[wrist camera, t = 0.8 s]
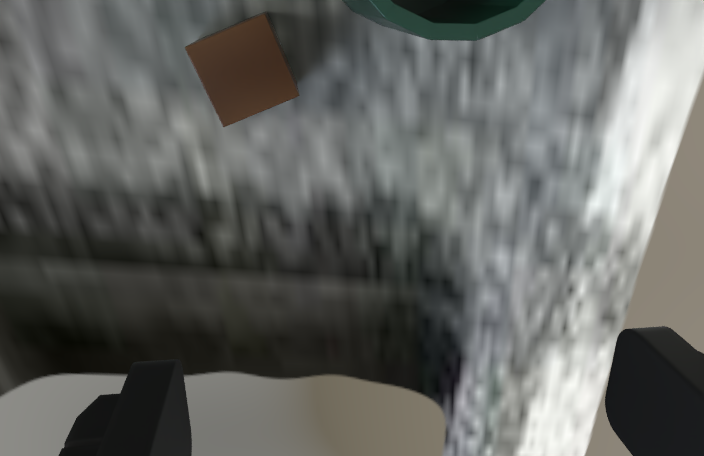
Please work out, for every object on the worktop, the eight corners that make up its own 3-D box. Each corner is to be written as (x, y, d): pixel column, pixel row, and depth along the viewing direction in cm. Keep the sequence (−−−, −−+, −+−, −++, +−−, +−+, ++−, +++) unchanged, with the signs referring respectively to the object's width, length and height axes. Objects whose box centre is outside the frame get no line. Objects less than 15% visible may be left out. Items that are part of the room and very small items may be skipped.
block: (196, 40, 30) (184, 47, 26) (266, 10, 30) (264, 13, 26) (229, 112, 31) (223, 127, 28) (297, 83, 31) (299, 96, 28)
